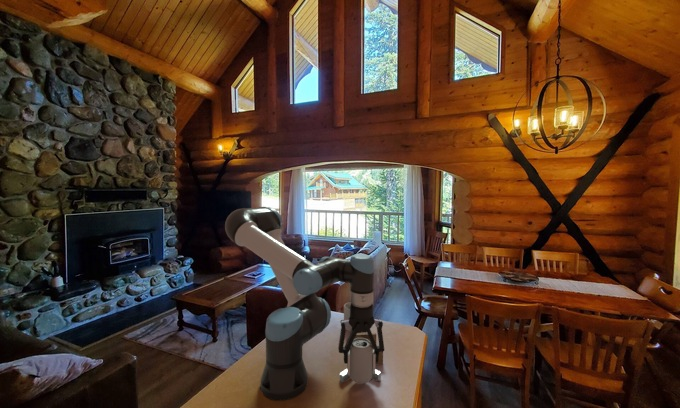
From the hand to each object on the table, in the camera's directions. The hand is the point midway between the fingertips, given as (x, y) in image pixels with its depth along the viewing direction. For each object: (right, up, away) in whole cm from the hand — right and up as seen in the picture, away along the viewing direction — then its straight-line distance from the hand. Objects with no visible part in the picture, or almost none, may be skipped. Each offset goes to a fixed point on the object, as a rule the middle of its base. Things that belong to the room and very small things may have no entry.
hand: (360, 371), depth 93 cm
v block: (0, -4, +5) cm, 6 cm away
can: (0, -2, 0) cm, 2 cm away
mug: (0, -2, +39) cm, 39 cm away
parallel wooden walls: (+4, -3, +17) cm, 18 cm away
